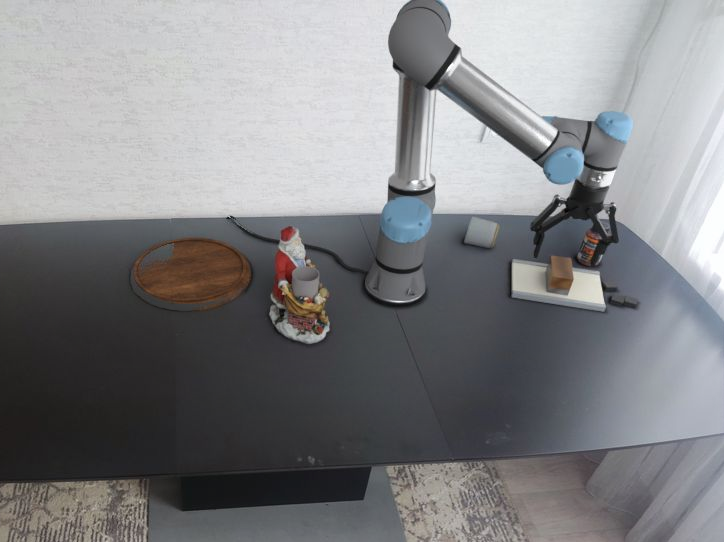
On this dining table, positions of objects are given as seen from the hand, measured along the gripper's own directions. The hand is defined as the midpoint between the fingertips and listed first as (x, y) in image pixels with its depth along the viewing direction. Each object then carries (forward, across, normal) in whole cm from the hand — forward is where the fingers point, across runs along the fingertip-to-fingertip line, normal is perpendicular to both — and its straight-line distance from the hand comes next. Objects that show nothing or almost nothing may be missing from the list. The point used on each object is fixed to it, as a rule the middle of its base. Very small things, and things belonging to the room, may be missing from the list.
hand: (563, 259), depth 165 cm
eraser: (+7, 0, 0) cm, 7 cm away
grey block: (+8, +15, -3) cm, 17 cm away
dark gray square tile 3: (+8, +18, -3) cm, 20 cm away
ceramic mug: (+8, -20, +17) cm, 27 cm away
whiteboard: (+8, 0, 0) cm, 8 cm away
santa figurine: (+9, -60, -34) cm, 69 cm away
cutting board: (+10, -92, -22) cm, 95 cm away
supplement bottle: (+8, +9, +15) cm, 19 cm away
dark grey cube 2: (+8, +14, +3) cm, 16 cm away
